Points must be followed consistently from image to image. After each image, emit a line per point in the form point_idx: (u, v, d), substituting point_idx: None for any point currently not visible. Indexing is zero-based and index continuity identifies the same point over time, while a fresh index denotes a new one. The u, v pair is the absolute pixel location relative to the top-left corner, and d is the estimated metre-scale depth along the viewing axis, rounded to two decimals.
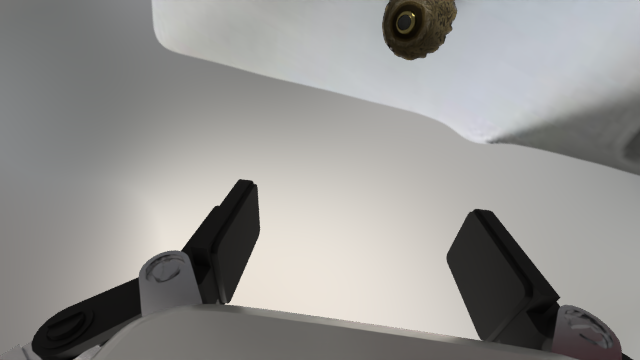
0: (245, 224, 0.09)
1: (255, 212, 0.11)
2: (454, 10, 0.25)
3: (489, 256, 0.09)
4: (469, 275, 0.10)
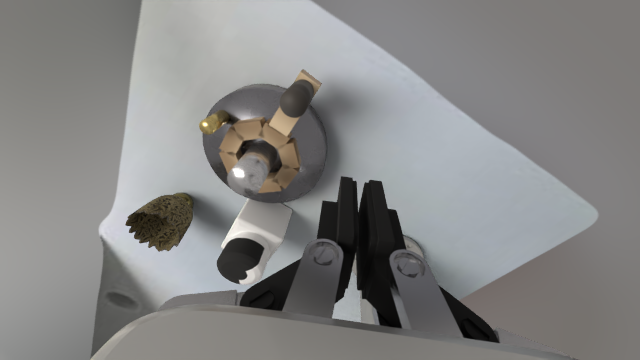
0: None
1: None
2: (161, 249, 0.37)
3: (366, 217, 0.10)
4: (359, 237, 0.11)
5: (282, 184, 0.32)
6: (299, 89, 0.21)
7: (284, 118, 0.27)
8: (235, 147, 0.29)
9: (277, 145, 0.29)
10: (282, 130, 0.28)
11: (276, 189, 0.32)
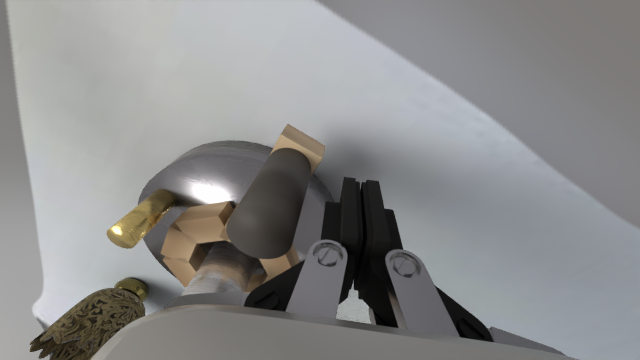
0: None
1: None
2: None
3: (362, 217, 0.10)
4: None
5: None
6: (271, 200, 0.09)
7: None
8: (186, 252, 0.17)
9: None
10: None
11: None
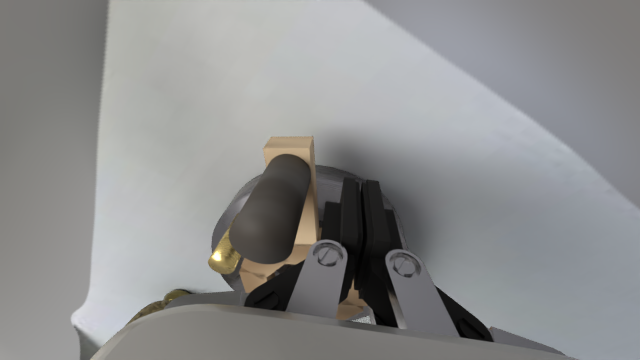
0: None
1: None
2: None
3: (362, 217, 0.10)
4: None
5: (358, 302, 0.19)
6: (254, 205, 0.09)
7: None
8: None
9: None
10: (304, 240, 0.16)
11: (355, 311, 0.19)
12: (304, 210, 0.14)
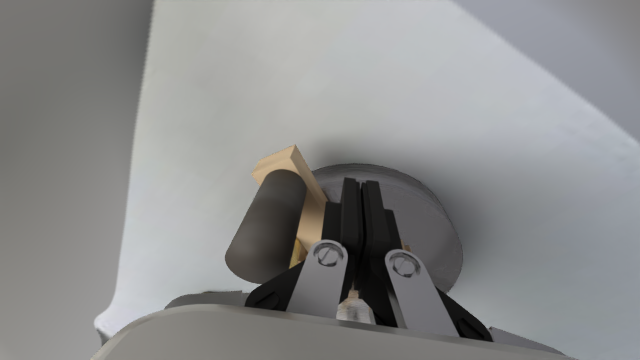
0: None
1: None
2: None
3: (362, 217, 0.10)
4: None
5: None
6: (240, 232, 0.09)
7: (312, 233, 0.15)
8: None
9: None
10: None
11: None
12: (315, 216, 0.14)
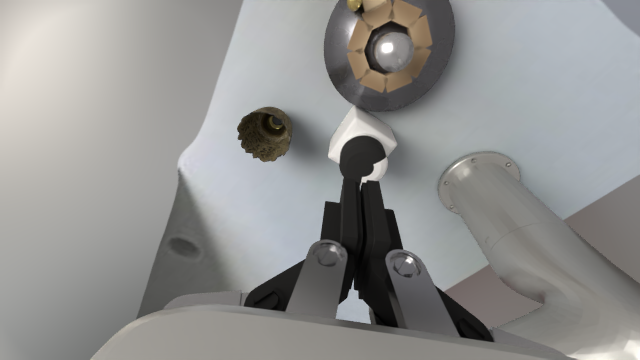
0: None
1: None
2: (265, 160, 0.36)
3: (362, 217, 0.10)
4: None
5: (426, 44, 0.29)
6: None
7: None
8: (364, 63, 0.30)
9: (387, 17, 0.28)
10: (378, 0, 0.27)
11: (426, 55, 0.29)
12: None
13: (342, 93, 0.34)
